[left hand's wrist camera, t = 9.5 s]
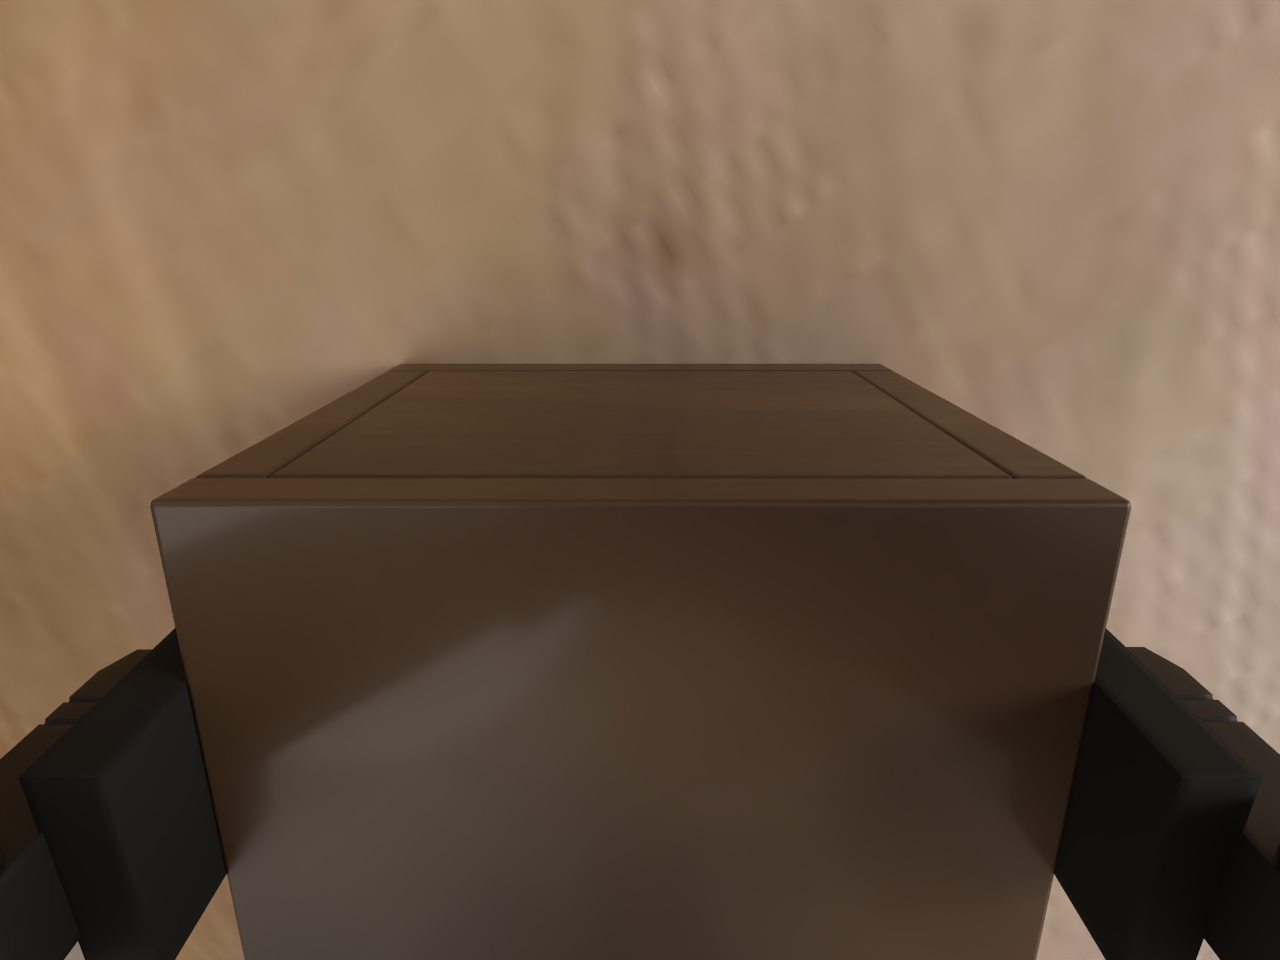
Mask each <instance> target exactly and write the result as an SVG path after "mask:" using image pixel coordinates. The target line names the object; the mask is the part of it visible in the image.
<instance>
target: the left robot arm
mask: <svg viewBox="0 0 1280 960" xmlns="http://www.w3.org/2000/svg"><path fill="white" fill-rule="evenodd" d="M69 698H70V700H69V702H68V703H63V704H62V705H60V706H59V707H58V708H57V709H56V710H55V711H54V712H53V713H51V714H50V715H49V716H48V717H47V718H46V719H45V724H44V725H38V726H37V727H36V728H35V729H34V730H33V731H31V732H30V733H29V734H28V735H27V736H26V737H25V738H24V739H22V740H21V741H20V742H19V743H18V744H17V745H16V746H15V747H14V748H12V749H11V750H10V751H9V752H8V753H7V754H6V755H5V756H4V757H2V758H1V759H0V960H64V959H65V957H66V956H67V955H68V953H69V952H70V951H71V949H72V948H73V947H74V945H75V944H76V943H77V941H78V942H79V944H80V947H81V950H82V953H83V955H84V958H85V960H175V959H176V957H177V955H178V954H179V952H180V950H181V949H182V947H183V945H184V944H185V942H186V940H187V939H188V937H189V935H190V934H191V932H192V930H193V929H194V927H195V925H196V924H197V922H198V920H199V919H200V917H201V916H202V914H203V912H204V911H205V909H206V907H207V906H208V904H209V902H210V901H211V899H212V897H213V896H214V894H215V892H216V891H217V889H218V887H219V886H220V884H221V882H222V881H223V879H224V877H225V876H226V874H227V871H226V867H225V862H224V857H223V852H222V847H221V843H220V838H219V833H218V828H217V823H216V819H215V814H214V809H213V804H212V799H211V795H210V790H209V785H208V780H207V775H206V771H205V766H204V761H203V756H202V751H201V747H200V742H199V737H198V732H197V728H196V723H195V718H194V713H193V708H192V704H191V699H190V694H189V689H188V684H187V680H186V675H185V670H184V665H183V660H182V656H181V651H180V646H179V641H178V636H177V632H176V628H175V629H174V630H173V631H172V632H171V633H170V634H168V635H167V636H166V637H165V638H164V639H163V640H162V641H161V642H160V643H159V644H158V645H157V646H156V647H155V648H154V649H153V650H136V651H134V652H132V653H131V654H129V655H127V656H125V657H123V658H122V659H120V660H118V661H116V662H114V663H113V664H111V665H109V666H107V667H106V668H104V669H102V670H100V671H98V672H97V673H96V674H95V675H94V676H93V677H92V678H91V679H89V680H88V681H87V682H86V683H85V684H84V685H83V686H82V687H80V688H79V689H78V690H77V691H76V692H75V693H74V694H73V695H72V696H70V697H69ZM1054 874H1055V876H1056V878H1057V879H1058V881H1059V883H1060V884H1061V886H1062V888H1063V889H1064V891H1065V893H1066V894H1067V896H1068V898H1069V899H1070V901H1071V903H1072V904H1073V906H1074V908H1075V909H1076V911H1077V913H1078V914H1079V916H1080V918H1081V919H1082V921H1083V922H1084V924H1085V926H1086V927H1087V929H1088V931H1089V932H1090V934H1091V936H1092V937H1093V939H1094V941H1095V942H1096V944H1097V946H1098V947H1099V949H1100V951H1101V952H1102V954H1103V956H1104V957H1105V959H1106V960H1196V958H1197V955H1198V953H1199V950H1200V947H1201V945H1202V942H1203V939H1205V940H1206V941H1207V943H1208V944H1209V945H1210V947H1211V948H1212V949H1213V951H1214V952H1215V953H1216V955H1217V956H1218V957H1219V959H1220V960H1280V755H1279V754H1278V753H1277V752H1276V751H1275V750H1274V749H1273V748H1272V747H1271V746H1269V745H1268V744H1267V743H1266V742H1265V741H1264V740H1263V739H1262V738H1260V737H1259V736H1258V735H1257V734H1256V733H1255V732H1254V731H1253V730H1251V729H1250V728H1249V727H1248V726H1247V725H1246V724H1245V723H1244V722H1238V721H1237V716H1236V715H1235V714H1233V713H1232V712H1231V711H1230V710H1229V709H1228V708H1227V707H1226V706H1224V705H1223V704H1222V703H1221V702H1220V701H1219V700H1213V698H1212V694H1211V693H1210V692H1209V691H1208V690H1206V689H1205V688H1204V687H1203V686H1202V685H1201V684H1200V683H1199V682H1197V681H1196V680H1195V679H1194V678H1193V677H1192V676H1191V675H1190V674H1189V673H1187V672H1186V671H1185V670H1184V669H1182V668H1181V667H1179V666H1177V665H1175V664H1173V663H1172V662H1170V661H1168V660H1166V659H1164V658H1163V657H1161V656H1159V655H1157V654H1155V653H1154V652H1152V651H1150V650H1148V649H1146V648H1145V647H1125V646H1124V645H1123V644H1122V643H1121V642H1120V641H1119V640H1118V639H1117V638H1116V637H1114V636H1113V635H1112V634H1111V633H1110V632H1109V631H1108V630H1107V629H1105V633H1104V638H1103V643H1102V648H1101V652H1100V657H1099V662H1098V667H1097V671H1096V676H1095V681H1094V686H1093V691H1092V695H1091V700H1090V705H1089V710H1088V714H1087V719H1086V724H1085V729H1084V733H1083V738H1082V743H1081V748H1080V752H1079V757H1078V762H1077V767H1076V771H1075V776H1074V781H1073V786H1072V790H1071V795H1070V800H1069V805H1068V810H1067V814H1066V819H1065V824H1064V829H1063V833H1062V838H1061V843H1060V848H1059V852H1058V857H1057V862H1056V867H1055V871H1054Z"/></svg>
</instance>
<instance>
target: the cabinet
mask: <svg viewBox="0 0 1280 960" xmlns="http://www.w3.org/2000/svg"><path fill="white" fill-rule="evenodd" d="M1130 510H1131V505H1130V502H1129V501H1128V500H1126V499H1125V498H1123V497H1121V496H1119V495H1117V494H1115V493H1114V492H1112V491H1110V490H1108V489H1106V488H1104V487H1103V486H1101V485H1099V484H1097V483H1095V482H1094V481H1092V480H1089V479H1086V477H1085V476H1083V475H1082V474H1080V473H1078V472H1076V471H1074V470H1073V469H1071V468H1069V467H1067V466H1065V465H1063V464H1062V463H1060V462H1058V461H1056V460H1054V459H1052V458H1051V457H1049V456H1047V455H1045V454H1043V453H1041V452H1040V451H1038V450H1036V449H1034V448H1032V447H1031V446H1029V445H1027V444H1025V443H1023V442H1021V441H1020V440H1018V439H1016V438H1014V437H1012V436H1010V435H1009V434H1007V433H1005V432H1003V431H1001V430H999V429H998V428H996V427H994V426H992V425H990V424H989V423H987V422H985V421H983V420H981V419H979V418H978V417H976V416H974V415H972V414H970V413H968V412H967V411H965V410H963V409H961V408H959V407H957V406H956V405H954V404H952V403H950V402H948V401H947V400H945V399H943V398H941V397H939V396H937V395H936V394H934V393H932V392H930V391H928V390H926V389H925V388H923V387H921V386H919V385H917V384H915V383H914V382H912V381H910V380H908V379H906V378H905V377H903V376H901V375H899V374H897V373H895V372H893V371H892V370H890V369H888V368H886V367H885V366H883V365H881V364H400V365H398V366H396V367H394V368H392V369H391V370H389V371H388V372H386V373H384V374H382V375H380V376H379V377H377V378H375V379H373V380H371V381H370V382H368V383H366V384H364V385H362V386H360V387H359V388H357V389H355V390H353V391H351V392H350V393H348V394H346V395H344V396H342V397H340V398H339V399H337V400H335V401H333V402H331V403H329V404H328V405H326V406H324V407H322V408H320V409H319V410H317V411H315V412H313V413H311V414H309V415H308V416H306V417H304V418H302V419H300V420H298V421H297V422H295V423H293V424H291V425H289V426H288V427H286V428H284V429H282V430H280V431H278V432H277V433H275V434H273V435H271V436H269V437H267V438H266V439H264V440H262V441H260V442H258V443H257V444H255V445H253V446H251V447H249V448H247V449H246V450H244V451H242V452H240V453H238V454H237V455H235V456H233V457H231V458H229V459H227V460H226V461H224V462H222V463H220V464H218V465H216V466H215V467H213V468H211V469H209V470H207V471H206V472H204V473H202V474H200V475H198V476H197V477H196V478H193V479H191V480H189V481H187V482H185V483H183V484H182V485H180V486H178V487H176V488H174V489H172V490H171V491H169V492H167V493H165V494H163V495H161V496H160V497H158V498H156V499H154V500H153V501H152V502H151V512H152V517H153V521H154V526H155V531H156V536H157V541H158V545H159V550H160V555H161V560H162V565H163V569H164V574H165V579H166V584H167V589H168V593H169V598H170V603H171V608H172V612H173V617H174V622H175V627H176V632H177V636H178V641H179V646H180V651H181V656H182V660H183V665H184V670H185V675H186V680H187V684H188V689H189V694H190V699H191V704H192V708H193V713H194V718H195V723H196V728H197V732H198V737H199V742H200V747H201V751H202V756H203V761H204V766H205V771H206V775H207V780H208V785H209V790H210V795H211V799H212V804H213V809H214V814H215V819H216V823H217V828H218V833H219V838H220V843H221V847H222V852H223V857H224V862H225V867H226V871H227V876H228V881H229V886H230V890H231V895H232V900H233V905H234V910H235V914H236V919H237V924H238V929H239V934H240V938H241V943H242V948H243V953H244V958H245V960H1036V957H1037V952H1038V948H1039V943H1040V938H1041V933H1042V929H1043V924H1044V919H1045V914H1046V910H1047V905H1048V900H1049V895H1050V890H1051V886H1052V881H1053V876H1054V871H1055V867H1056V862H1057V857H1058V852H1059V848H1060V843H1061V838H1062V833H1063V829H1064V824H1065V819H1066V814H1067V810H1068V805H1069V800H1070V795H1071V790H1072V786H1073V781H1074V776H1075V771H1076V767H1077V762H1078V757H1079V752H1080V748H1081V743H1082V738H1083V733H1084V729H1085V724H1086V719H1087V714H1088V710H1089V705H1090V700H1091V695H1092V691H1093V686H1094V681H1095V676H1096V671H1097V667H1098V662H1099V657H1100V652H1101V648H1102V643H1103V638H1104V633H1105V629H1106V624H1107V619H1108V614H1109V610H1110V605H1111V600H1112V595H1113V591H1114V586H1115V581H1116V576H1117V571H1118V567H1119V562H1120V557H1121V552H1122V548H1123V543H1124V538H1125V533H1126V529H1127V524H1128V519H1129V514H1130Z"/></svg>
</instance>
